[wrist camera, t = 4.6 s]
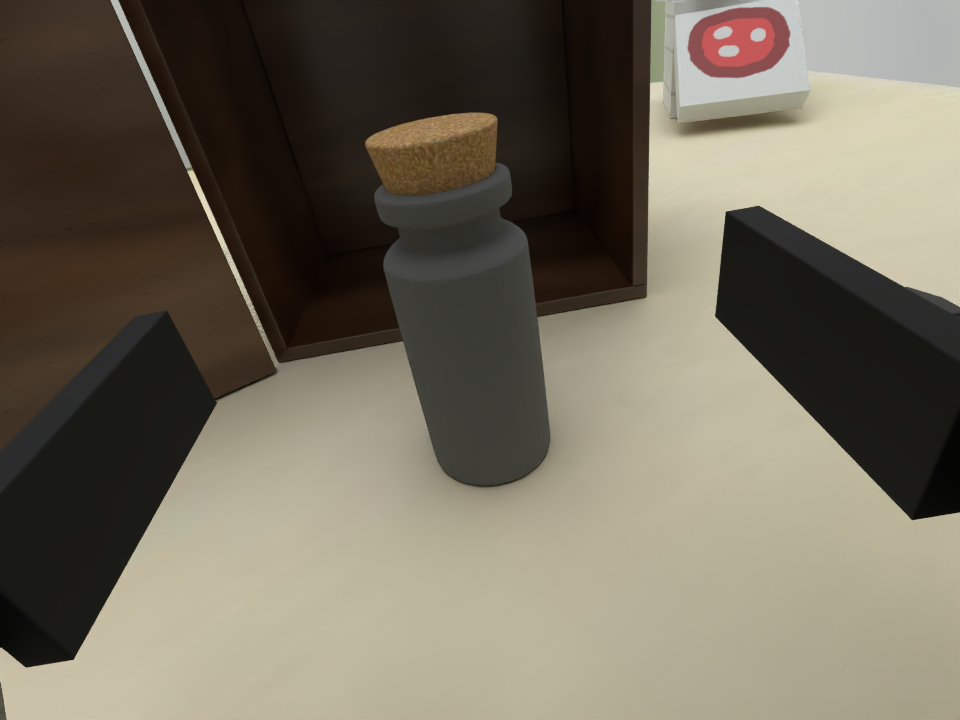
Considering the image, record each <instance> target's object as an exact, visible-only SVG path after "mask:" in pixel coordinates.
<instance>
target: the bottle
mask: <svg viewBox="0 0 960 720" xmlns="http://www.w3.org/2000/svg"><path fill="white" fill-rule="evenodd" d="M497 121H498V120H497V117H496V116H494V115H492V114H489V113H461V114H451V115H444V116H438V117H432V118H426V119H422V120H418V121H413V122H409V123H405V124H401V125H398V126H394V127H391V128H389V129H386V130H383V131H381V132H378V133H376V134H374V135H372V136H371V137H369V138H368V139H367V140H366V142H365V146H366V148H367V150H368V153H369V155H370V157H371V159H372V161H373V163H374V165H375V167H376V170H377V172H378V174H379V176H380V178H381V180H382V182H383V185H381V186H380V187H379V188H378V189H377V190H376V192H375V195H374V200H375V204H376V208H377V211H378V214H379V217H380V219H381V221H382V222H383V223H385V224H387V225H389V226H392V227H398V231H399V235H400V238H399V239H398V240H397V241H396V242H395V243H394V244H393V245H392V246H391V247H390V249H389V250H388V252H387V253H386V256H385V258H384V272H385V276H386V280H387V284H388V288H389V291H390V295H391V299H392V302H393V306H394V310H395V313H396V317H397V320H398V324H399V328H400V331H401V335H402V338H403V342H404V346H405V349H406V353H407V356H408V360H409V364H410V367H411V371H412V374H413V378H414V381H415V385H416V389H417V392H418V396H419V399H420V403H421V406H422V410H423V413H424V417H425V420H426V424H427V427H428V431H429V434H430V438H431V441H432V445H433V448H434V451H435V454H436V457H437V460H438V462H439V464H440V465H441V467H442V468H443V470H444V471H445V472H446V473H447V474H448V475H450V476H451V477H453V478H454V479H456V480H458V481H461V482H464V483H467V484H471V485H481V486H488V485H499V484H503V483H507V482H511V481H514V480H516V479H518V478H521V477H523V476H524V475H526V474H527V473H529V472H531V471H532V470H533V469H534V468H535V467H536V466H538V465H539V464H540V463H541V461H542V460H543V459H544V457H545V455H546V453H547V451H548V448H549V444H550V429H549V419H548V410H547V400H546V390H545V381H544V372H543V363H542V355H541V346H540V338H539V329H538V320H537V312H536V303H535V294H534V286H533V278H532V270H531V263H530V255H529V247H528V241H527V237H526V235H525V233H524V232H523V231H522V230H521V229H520V228H519V227H518V226H516V225H515V224H513V223H512V222H510V221H507V220H505V219H502V218H501V216H500V210H499V208H500V207H501V206H502V205H504V204H505V203H506V202H508V200H509V199H510V197H511V196H512V184H511V176H510V172H509V169H508V168H507V167H506V166H505V165H503V164H501V163H496V162H495V158H496V139H497Z"/></svg>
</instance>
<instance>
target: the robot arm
mask: <svg viewBox="0 0 960 720" xmlns="http://www.w3.org/2000/svg"><path fill="white" fill-rule="evenodd" d="M715 317H716V318H717V319H718V320H719V321H720V322H721V323H722V324H723V325H724V326H725V327H726V328H727V329H728V330H729V331H730V332H731V333H732V334H733V335H734V336H735V337H736V338H737V339H738V340H739V342H740V343H741V344H742V345H743V346H744V347H745V348H746V349H747V350H748V351H749V352H750V353H751V354H752V355H753V356H754V357H755V358H756V359H757V360H758V361H759V362H760V363H761V364H762V365H763V366H764V367H765V368H766V369H767V370H768V372H769V373H770V374H771V375H772V376H773V377H774V378H775V379H776V380H777V381H778V382H779V383H780V384H781V385H782V386H783V387H784V388H785V389H786V390H787V391H788V392H789V393H790V394H791V395H792V396H793V397H794V398H795V399H796V400H797V401H798V403H799V404H800V405H801V406H802V407H803V408H804V409H805V410H806V411H807V412H808V413H809V414H810V415H811V416H812V417H813V418H814V419H815V420H816V421H817V422H818V423H819V424H820V425H821V426H822V427H823V428H824V429H825V430H826V431H827V433H828V434H829V435H830V436H831V437H832V438H833V439H834V440H835V441H836V442H837V443H838V444H839V445H840V446H841V447H842V448H843V449H844V450H845V451H846V452H847V453H848V454H849V455H850V456H851V457H852V458H853V459H854V460H855V461H856V463H857V464H858V465H859V466H860V467H861V468H862V469H863V470H864V471H865V472H866V473H867V474H868V475H869V476H870V477H871V478H872V479H873V480H874V481H875V482H876V483H877V484H878V485H879V486H880V487H881V488H882V489H883V490H884V491H885V492H886V494H887V495H888V496H889V497H890V498H891V499H892V500H893V501H894V502H895V503H896V504H897V505H898V506H899V507H900V508H901V509H902V510H903V511H904V512H905V513H906V514H907V515H908V516H909V517H910V518H911V519H912V520H916V519H922V518H928V517H934V516H940V515H946V514H952V513H958V512H960V307H959V306H957V305H955V304H953V303H951V302H949V301H947V300H946V299H944V298H942V297H939V296H935V295H932V294H929V293H926V292H922V291H919V290H916V289H912V288H909V287H903V286H901V285H899V284H898V283H896V282H894V281H892V280H891V279H889V278H887V277H885V276H883V275H882V274H880V273H878V272H876V271H874V270H873V269H871V268H869V267H867V266H866V265H864V264H862V263H860V262H858V261H857V260H855V259H853V258H851V257H849V256H848V255H846V254H844V253H842V252H841V251H839V250H837V249H835V248H833V247H832V246H830V245H828V244H826V243H825V242H823V241H821V240H819V239H817V238H816V237H814V236H812V235H810V234H808V233H807V232H805V231H803V230H801V229H800V228H798V227H796V226H794V225H792V224H791V223H789V222H787V221H785V220H783V219H782V218H780V217H778V216H776V215H775V214H773V213H771V212H769V211H767V210H766V209H764V208H762V207H760V206H755V207H750V208H744V209H738V210H733V211H727V212H726V215H725V225H724V235H723V245H722V255H721V265H720V275H719V285H718V295H717V305H716V315H715ZM216 404H217V402H216V401H215V399H214V397H213V395H212V393H211V391H210V389H209V387H208V386H207V384H206V382H205V380H204V378H203V376H202V374H201V373H200V371H199V369H198V367H197V365H196V363H195V361H194V360H193V358H192V356H191V354H190V352H189V350H188V348H187V347H186V345H185V343H184V341H183V339H182V337H181V335H180V334H179V332H178V330H177V328H176V326H175V324H174V322H173V320H172V319H171V317H170V315H169V313H168V311H162V312H156V313H151V314H145V315H139V316H135V317H134V318H133V319H132V320H131V321H130V322H129V323H128V324H127V325H126V326H125V327H124V328H123V329H122V330H121V331H120V332H119V333H118V334H117V335H116V336H115V337H114V338H113V339H112V340H111V341H110V342H109V343H108V344H107V345H106V346H105V347H104V348H103V349H102V350H101V351H100V352H99V353H98V354H97V355H96V356H95V357H94V358H93V359H92V360H91V361H90V362H89V363H88V364H87V365H86V366H85V367H84V368H83V369H82V370H81V371H80V372H79V373H78V374H77V375H76V376H75V377H74V378H73V379H72V380H71V381H70V382H69V383H68V384H67V385H66V386H65V387H64V388H63V389H62V390H61V391H60V392H59V393H58V394H57V395H56V396H55V397H54V398H53V399H52V400H51V401H50V402H49V403H48V404H47V405H46V406H45V407H44V408H43V409H42V410H41V411H40V412H39V413H38V414H37V415H36V416H35V417H34V418H33V419H32V420H31V421H30V422H29V423H28V424H27V425H26V426H25V427H24V428H23V429H22V430H21V431H20V432H19V433H18V434H17V435H16V436H15V437H14V438H13V439H12V440H11V441H10V442H9V443H8V444H7V445H6V446H5V447H4V448H3V449H2V450H1V451H0V648H1V647H2V648H3V649H4V650H5V651H7V652H8V653H9V654H10V655H11V656H13V657H14V658H15V659H16V660H17V661H19V662H20V663H21V664H22V665H23V666H25V667H32V666H38V665H44V664H50V663H56V662H62V661H68V660H74V658H75V656H76V654H77V652H78V651H79V649H80V647H81V645H82V644H83V642H84V640H85V638H86V636H87V635H88V633H89V631H90V629H91V627H92V626H93V624H94V622H95V620H96V618H97V617H98V615H99V613H100V611H101V610H102V608H103V606H104V604H105V602H106V601H107V599H108V597H109V595H110V593H111V592H112V590H113V588H114V586H115V585H116V583H117V581H118V579H119V577H120V576H121V574H122V572H123V570H124V568H125V567H126V565H127V563H128V561H129V559H130V558H131V556H132V554H133V552H134V551H135V549H136V547H137V545H138V543H139V542H140V540H141V538H142V536H143V534H144V533H145V531H146V529H147V527H148V525H149V524H150V522H151V520H152V518H153V517H154V515H155V513H156V511H157V509H158V508H159V506H160V504H161V502H162V500H163V499H164V497H165V495H166V493H167V491H168V490H169V488H170V486H171V484H172V483H173V481H174V479H175V477H176V475H177V474H178V472H179V470H180V468H181V466H182V465H183V463H184V461H185V459H186V458H187V456H188V454H189V452H190V450H191V449H192V447H193V445H194V443H195V441H196V440H197V438H198V436H199V434H200V432H201V431H202V429H203V427H204V425H205V424H206V422H207V420H208V418H209V416H210V415H211V413H212V411H213V409H214V407H215V406H216ZM0 720H6V713H5V707H4V700H3V694H2V688H1V683H0Z"/></svg>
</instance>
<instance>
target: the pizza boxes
mask: <svg viewBox="0 0 960 720" xmlns="http://www.w3.org/2000/svg"><path fill="white" fill-rule="evenodd" d="M661 1H666V16H665V51H664V86H663V102H664V105H665V107H666V109H667V112H668V114H669V117H670V118H677V121H678V123H686V122H694V121H703V120H711V119H719V118H727V117H736V116H744V115H752V114H760V113H769V112H777V111H785V110H793V109H801V108H802V107H803V104H804V102H805V100H806V98H807V95H808V93H809V91H810V87H809V80H808V72H807V65H806V57H805V50H804V42H803V35H802V27H801V19H800V12H799V5H798V0H655V2H661Z"/></svg>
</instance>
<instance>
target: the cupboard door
mask: <svg viewBox="0 0 960 720" xmlns="http://www.w3.org/2000/svg"><path fill="white" fill-rule="evenodd" d="M162 311H168V313H169V315H170V317H171V319H172V320H173V322H174V324H175V326H176V328H177V330H178V332H179V334H180V335H181V337H182V339H183V341H184V343H185V345H186V347H187V348H188V350H189V352H190V354H191V356H192V358H193V360H194V361H195V363H196V365H197V367H198V369H199V371H200V373H201V374H202V376H203V378H204V380H205V382H206V384H207V386H208V387H209V389H210V391H211V393H212V395H213V397H214V399H215V398H217V397H220V396H222V395H224V394H226V393H229V392H231V391H233V390H235V389H238V388H240V387H242V386H244V385H247V384H249V383H251V382H253V381H256V380H258V379H260V378H262V377H265V376H267V375H269V374H271V373H274V372H276V369H275V366H274V364H273V362H272V360H271V357H270V355H269V353H268V351H267V349H266V346H265V344H264V342H263V340H262V337H261V335H260V333H259V331H258V329H257V326H256V324H255V322H254V320H253V317H252V315H251V313H250V311H249V308H248V306H247V304H246V302H245V300H244V297H243V295H242V293H241V291H240V288H239V286H238V284H237V282H236V279H235V277H234V275H233V273H232V271H231V268H230V266H229V264H228V262H227V259H226V257H225V255H224V253H223V250H222V248H221V246H220V244H219V242H218V239H217V237H216V235H215V233H214V230H213V228H212V226H211V224H210V221H209V219H208V217H207V215H206V213H205V210H204V208H203V206H202V204H201V201H200V199H199V197H198V195H197V193H196V190H195V188H194V186H193V184H192V181H191V179H190V177H189V175H188V172H187V170H186V168H185V166H184V164H183V161H182V159H181V157H180V155H179V152H178V150H177V148H176V146H175V143H174V141H173V139H172V137H171V135H170V132H169V130H168V128H167V126H166V123H165V121H164V119H163V117H162V115H161V112H160V110H159V108H158V106H157V103H156V101H155V99H154V97H153V94H152V92H151V90H150V88H149V86H148V83H147V81H146V79H145V77H144V75H143V72H142V70H141V68H140V66H139V63H138V61H137V59H136V57H135V54H134V52H133V50H132V48H131V45H130V43H129V41H128V39H127V37H126V34H125V32H124V30H123V28H122V25H121V23H120V21H119V19H118V16H117V14H116V12H115V10H114V7H113V6H112V3H111V1H110V0H0V451H1V450H2V449H3V448H4V447H5V446H6V445H7V444H8V443H9V442H10V441H11V440H12V439H13V438H14V437H15V436H16V435H17V434H18V433H19V432H20V431H21V430H22V429H23V428H24V427H25V426H26V425H27V424H28V423H29V422H30V421H31V420H32V419H33V418H34V417H35V416H36V415H37V414H38V413H39V412H40V411H41V410H42V409H43V408H44V407H45V406H46V405H47V404H48V403H49V402H50V401H51V400H52V399H53V398H54V397H55V396H56V395H57V394H58V393H59V392H60V391H61V390H62V389H63V388H64V387H65V386H66V385H67V384H68V383H69V382H70V381H71V380H72V379H73V378H74V377H75V376H76V375H77V374H78V373H79V372H80V371H81V370H82V369H83V368H84V367H85V366H86V365H87V364H88V363H89V362H90V361H91V360H92V359H93V358H94V357H95V356H96V355H97V354H98V353H99V352H100V351H101V350H102V349H103V348H104V347H105V346H106V345H107V344H108V343H109V342H110V341H111V340H112V339H113V338H114V337H115V336H116V335H117V334H118V333H119V332H120V331H121V330H122V329H123V328H124V327H125V326H126V325H127V324H128V323H129V322H130V321H131V320H132V319H133V318H134V317H135V316H139V315H145V314H151V313H156V312H162Z"/></svg>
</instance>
